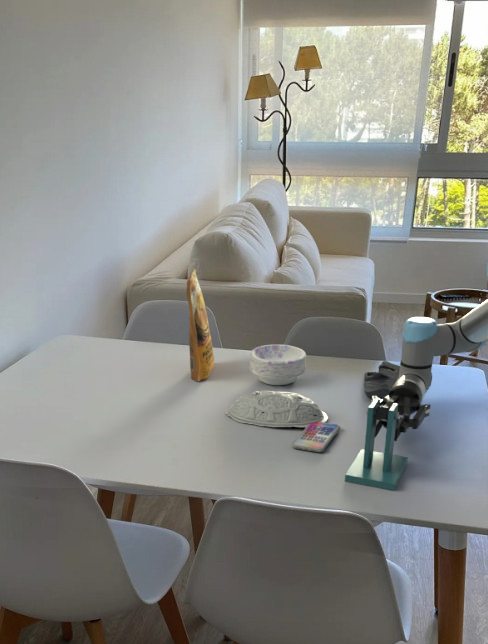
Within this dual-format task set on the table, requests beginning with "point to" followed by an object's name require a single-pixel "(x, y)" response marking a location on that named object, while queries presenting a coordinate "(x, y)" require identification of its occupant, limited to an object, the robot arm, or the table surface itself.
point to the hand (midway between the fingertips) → (384, 433)
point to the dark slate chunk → (381, 380)
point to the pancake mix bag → (199, 332)
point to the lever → (383, 415)
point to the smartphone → (316, 436)
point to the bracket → (378, 455)
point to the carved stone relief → (276, 409)
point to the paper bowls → (277, 363)
